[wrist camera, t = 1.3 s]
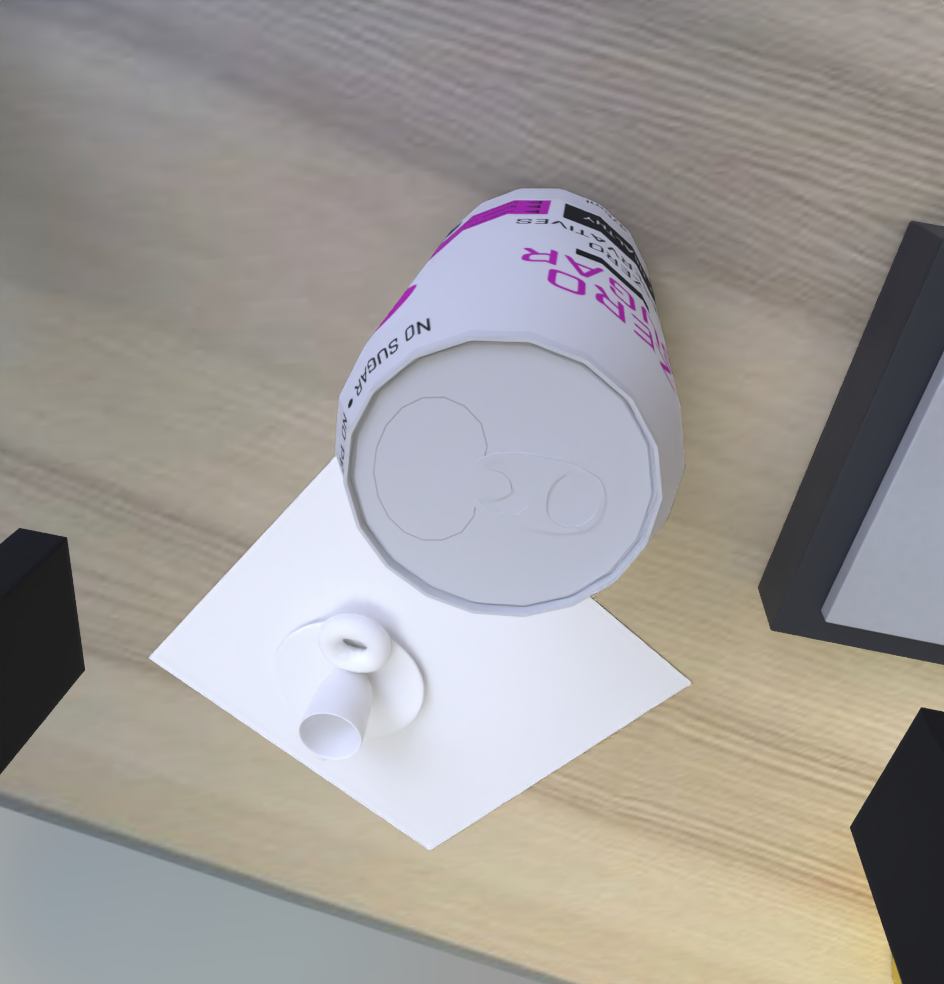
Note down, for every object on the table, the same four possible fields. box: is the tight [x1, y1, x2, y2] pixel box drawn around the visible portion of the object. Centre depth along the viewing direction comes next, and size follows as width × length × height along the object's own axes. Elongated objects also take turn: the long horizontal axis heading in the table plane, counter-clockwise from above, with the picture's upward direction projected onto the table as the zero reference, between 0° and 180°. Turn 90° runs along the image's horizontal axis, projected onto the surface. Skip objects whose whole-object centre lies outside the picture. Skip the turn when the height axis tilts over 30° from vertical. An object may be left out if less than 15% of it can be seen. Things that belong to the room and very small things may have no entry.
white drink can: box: [335, 189, 685, 617], centre depth 24 cm, size 8×8×15 cm
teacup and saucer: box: [272, 612, 425, 762], centre depth 39 cm, size 9×8×4 cm
